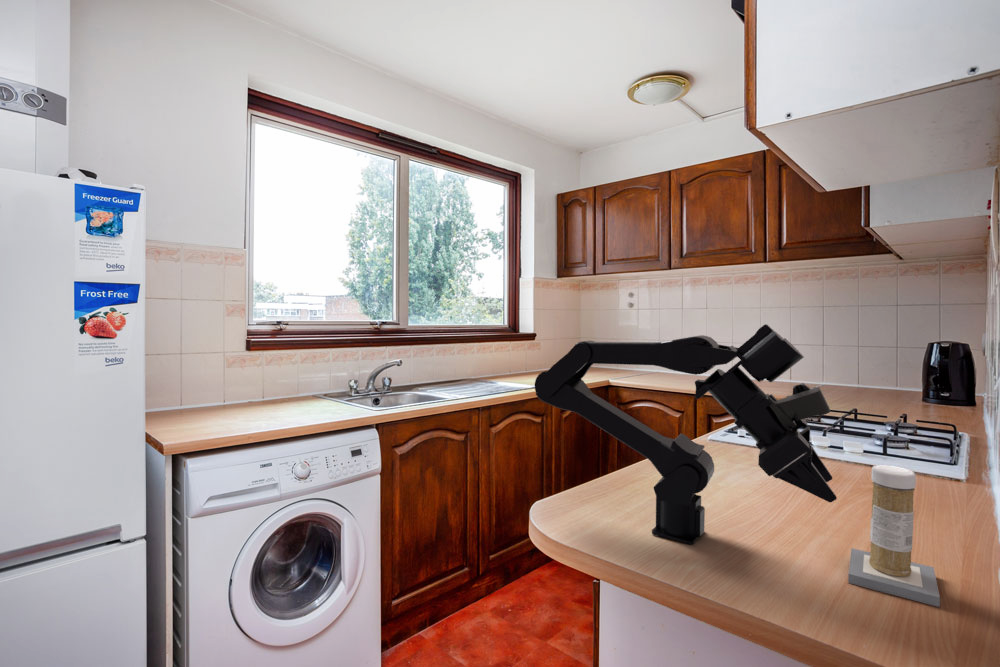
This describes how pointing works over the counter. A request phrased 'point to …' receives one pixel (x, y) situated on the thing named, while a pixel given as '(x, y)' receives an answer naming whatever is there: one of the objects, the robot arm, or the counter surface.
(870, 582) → the tile
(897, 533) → the sprinkles bottle
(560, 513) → the counter surface
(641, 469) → the counter surface
